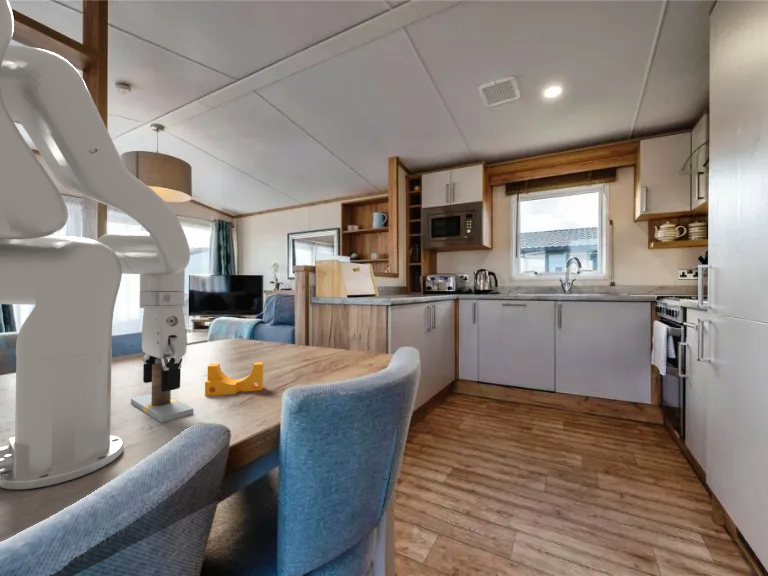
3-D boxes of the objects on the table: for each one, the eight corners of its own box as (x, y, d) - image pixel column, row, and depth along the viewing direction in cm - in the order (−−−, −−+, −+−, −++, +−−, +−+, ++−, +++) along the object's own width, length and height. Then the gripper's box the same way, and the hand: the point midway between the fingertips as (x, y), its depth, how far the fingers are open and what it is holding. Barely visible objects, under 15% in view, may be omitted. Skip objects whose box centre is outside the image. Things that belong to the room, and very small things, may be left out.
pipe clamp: (204, 396, 74) (205, 368, 74) (210, 390, 78) (211, 363, 78) (260, 393, 77) (260, 366, 77) (263, 387, 81) (263, 362, 81)
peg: (155, 407, 64) (156, 361, 64) (148, 403, 66) (149, 359, 66) (173, 402, 67) (174, 358, 67) (166, 399, 68) (167, 356, 69)
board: (161, 422, 59) (161, 417, 59) (130, 403, 69) (130, 398, 69) (193, 413, 64) (193, 408, 64) (160, 396, 73) (160, 392, 73)
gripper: (202, 301, 64) (200, 389, 64) (165, 298, 74) (164, 374, 74) (158, 302, 58) (157, 399, 58) (125, 299, 68) (124, 381, 68)
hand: (161, 385), depth 66 cm, fingers open, 8 cm apart
